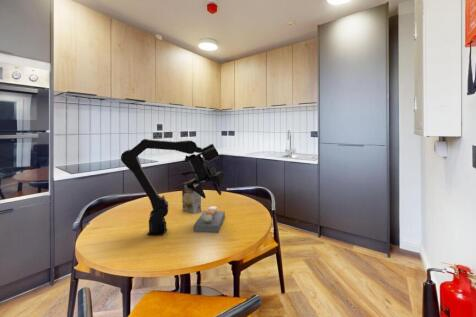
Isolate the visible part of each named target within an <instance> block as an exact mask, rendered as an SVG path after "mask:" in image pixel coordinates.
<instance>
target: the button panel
mask: <svg viewBox="0 0 476 317" xmlns="http://www.w3.org/2000/svg"><path fill="white" fill-rule="evenodd" d="M206 211H207V210H203V211H202V213H201V214H200V216H199V217H198V219H197V220H196V222H195V223H194V224H193V232H194V233H208V234H211V233H212V234H219V232H220V230H221V227H222V225H223V223H224V220H225V218H226V214H225V212H226V211H222V210H221V211H220V210H217V212H215V216H212V221H209V222H205V221H203V215H206Z"/></svg>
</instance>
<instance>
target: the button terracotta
mask: <svg viewBox="0 0 476 317" xmlns="http://www.w3.org/2000/svg"><path fill="white" fill-rule="evenodd" d="M205 211H206V215H212V216H215V211H214V210H209V209H208V210H205Z"/></svg>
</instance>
